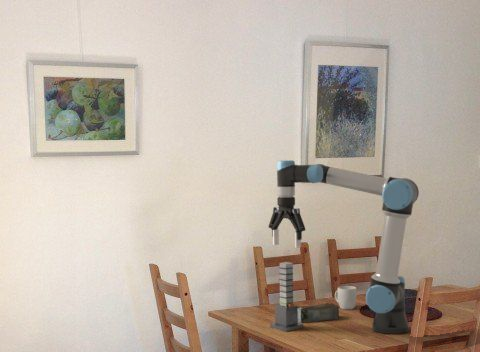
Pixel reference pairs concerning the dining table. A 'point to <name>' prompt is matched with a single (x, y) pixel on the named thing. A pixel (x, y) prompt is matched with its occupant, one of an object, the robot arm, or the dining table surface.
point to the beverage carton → (318, 312)
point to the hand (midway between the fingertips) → (286, 246)
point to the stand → (286, 318)
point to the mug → (346, 297)
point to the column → (286, 284)
